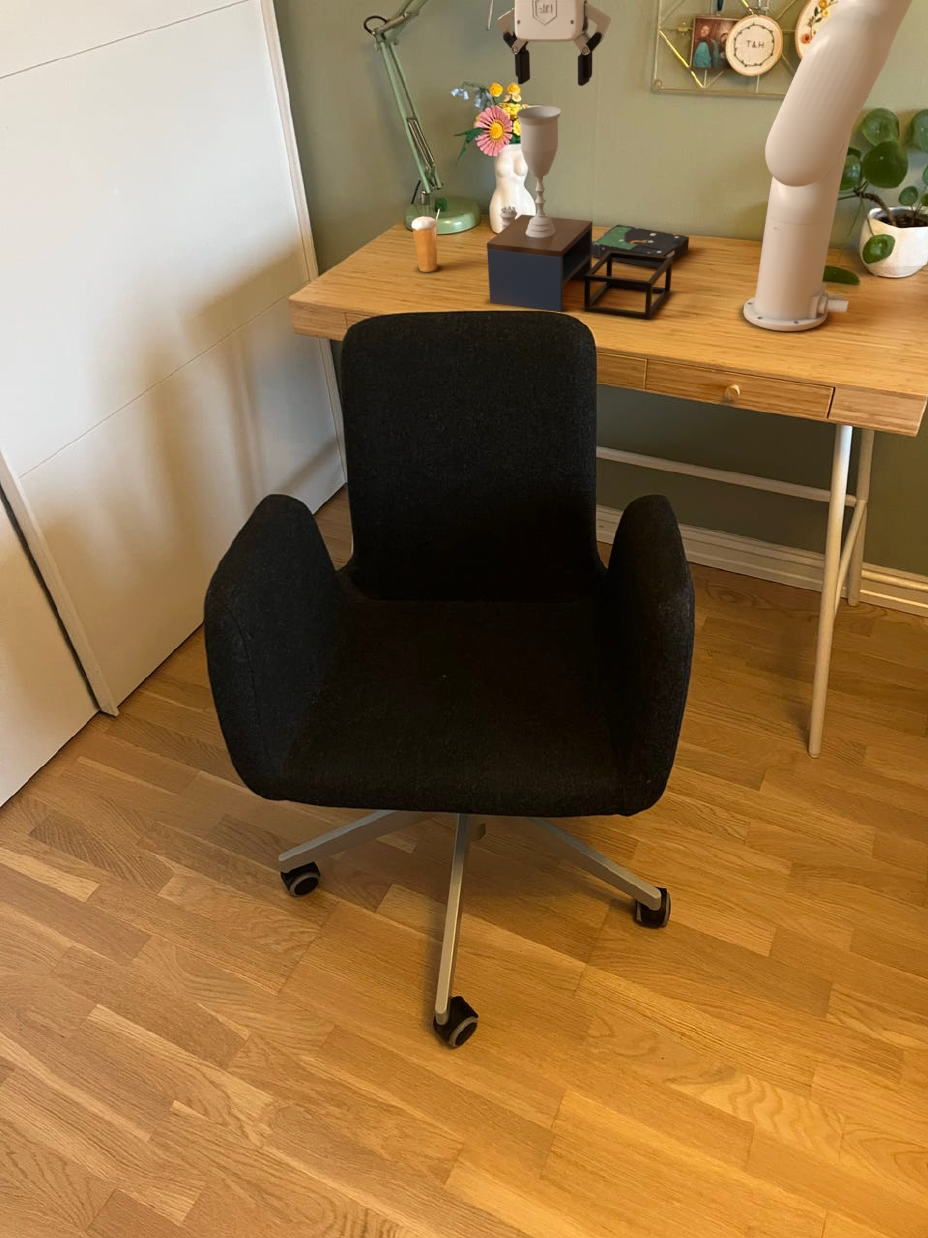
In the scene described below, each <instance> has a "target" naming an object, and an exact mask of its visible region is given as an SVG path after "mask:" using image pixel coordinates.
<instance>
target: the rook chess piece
mask: <svg viewBox="0 0 928 1238" xmlns="http://www.w3.org/2000/svg"><path fill="white" fill-rule="evenodd" d="M500 209H501V211H500V213H499V216H500V218H501V222H500V224H501V228H502V229H501V231H502V230H503V229H505V228H506V227H507V226H508V225H509V224H511V223H512V222H513V221H514V220H515V219H516V217H517V215H518V212H517V211H516V207H515V206H511V205H510V206H509V205H508V206H507V207H506V206H504V207H503V208H502V207H501V208H500Z"/></svg>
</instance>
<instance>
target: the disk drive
mask: <svg viewBox="0 0 928 1238" xmlns="http://www.w3.org/2000/svg"><path fill="white" fill-rule="evenodd" d="M689 243H690V236H686V235H683V234H678V233H677V234H674V233H670V232H664V231H657V230H652V229H646V228H641V227H635V226H631V225H630V226H629V225H622V224H617V225H615V226H613V227H612V228H610V229H609V230H607V231H605V232H604V233H603V235H601V236H599V237H598V238H597V239H595V240H592V257H594V258H600V259H601V258H602V257H603V256H604V255H605V254H606V253H607V252H608V251H618V252H628V253H637V254H646V255H655V256H665V257H673V261H672V262H674V261H676V259H678V258H679V257H681V256H682V255H684V254H685V252H687V251H688V250H689V245H690V244H689ZM612 261H615V262H622V263H626V264H631V265H637V266H642V267H647V268H653V269H659V267H660V266H661V265H662V264H663V263H660V262H650V261H641V260H632V259H623V258H614V257H613V260H612Z"/></svg>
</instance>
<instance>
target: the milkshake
mask: <svg viewBox="0 0 928 1238" xmlns="http://www.w3.org/2000/svg"><path fill="white" fill-rule="evenodd" d="M440 211H441V209H438V211H437V214H436V217H435V218H433V217H431V216H423V215H422V216H420V217H416V218H415V219H414V220H413V221H412V222H411V230H412V235H413V240H414V244H415V249H416V255H417V260H418V266H419V267H418V268H419V271H420V272H422V273H431V272H435V271H437V269H438V222H437V221H438V219H439V215H440Z"/></svg>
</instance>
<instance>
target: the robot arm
mask: <svg viewBox="0 0 928 1238" xmlns="http://www.w3.org/2000/svg"><path fill="white" fill-rule="evenodd" d="M912 2H913V0H837V2H836V3H835V6H834V9H833V10H832V11H831V14H830V15H829V17H828V18H827V20H826V21H825V22H824V23H823V25H822V26H821V27H820V28H819V30H818V31H817V32H816V33H815V34H814V36H813V37H812V39H811V40H810V43H809V44H808V46H807V48H806V50H805V52H804V54H803V56H802V58H801V60H800V63H799V65H798V67H797V70H796V71H795V73H794V76H793V78H792V81H791V83H790V85H789V88H788V90H787V92H786V94H785V96H784V99H783V101H782V104H781V105H780V108H779V110H778V113H777V114H776V117H775V119H774V121H773V124H772V125H771V128H770V130H769V133H768V135H767V139H766V142H765V146H764V147H765V148H764V157H765V158H764V159H765V164H766V167H767V169H768V170H769V173H770V175H771V176H772V177H771V183H770V190H769V197H768V201H767V202H768V203H767V209H766V216H765V224H764V231H763V237H762V246H761V253H760V261H759V268H758V276H757V283H756V289H755V290H756V291H755V295H754V296H753V297H751V298H750V299H748V300H747V301H746V302H745V303H744V305H743V317H744V318H745V319H746V320H747V321H748V322H749V323H751V324H753V325H755V326H758V327H760V328H763V329H766V330H771V331H779V332H781V331H782V332H797V331H805V330H809V329H812V328H815V327H818V326H819V325H821V324H823V323H824V322H825V321H826V319H827V317H828V312H829V313H833V314H839V315H847V313H848V310H849V305H850V301H849V300H844V295H840V294H829V291H826V288H827V283H824V282H823V279H824V273H825V268H826V263H827V257H828V251H829V246H830V240H831V234H832V230H833V229H832V228H833V225H834V223H833V222H834V218H835V215H836V210H837V203H838V198H839V192H840V189H841V188H840V187H841V182H842V178H843V173H844V168H845V164H846V161H847V160H846V159H847V155H848V150H849V146H850V141H851V137H852V136H851V135H852V129H853V127H854V126H855V123H856V121H857V119H858V117H859V115H860V113H861V111H862V109H863V108H864V105H865V103H866V101H867V99H868V97H869V95H870V94H871V92H872V89H873V88H874V85H875V84H876V81H877V80H878V78H879V76H880V74H881V72H882V70H883V69H884V67H885V64H886V62H887V60H888V57H889V55H890V51H891V49H892V45H893V43H894V40H895V38H896V35H897V33H898V31H899V29H900V27H901V24H902V22H903V20H904V19H905V16H906V15H907V12H908V11H909V8H910V7H911V4H912ZM512 21H514V31H513V30H512V27H511V23H512ZM590 21H592V22H593V23H595V24H596V29H595V31H594V34H593V35H590V34H589V32H588V30H589V23H590ZM611 21H612V20H611V17H610V16H609V15H607V14H605V13H604V12H603V11H601V10H599V9H598V8H596V7H595V6H593V5H591V4H590V3H589V0H514V7H513V8H511V10H509V11H507V12H506V13H504V14H503V15H501V16H500V17H499V18H498V19H497V20H496V24H497V27H498V29H499V31H500V33H501V34H502V39H503V41H504V42H505V43H506V45H507V46H508V47H509V48H510V51H511V53H512V54H513V55H514V69H515V71H514V72H515V77H517V84H518V85H524V84H525V83H527V82H528V81H530V80H531V61H530V51H529V49H527V47H528V45H529V43H530V42H540V43H541V42H543V43H544V42H545V43H546V42H547V43H549V42H551V43H553V42H555V43H556V42H558V43H561V42H562V43H563V42H564V43H566V42H574V43H575V46H576V47H577V49H578V50H579V51H580V54H578V56H577V85H578V86H579V87H583V86H585V85H586V84H588V83H589V82H590V79H591V78H592V76H593V52H594V51H595V50H596V48H597V47H598V46H599V44H600V43H601V42H602V41H603V40H604V39H605V35H606V33H607V31H608V29H609V26H610V24H611Z"/></svg>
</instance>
